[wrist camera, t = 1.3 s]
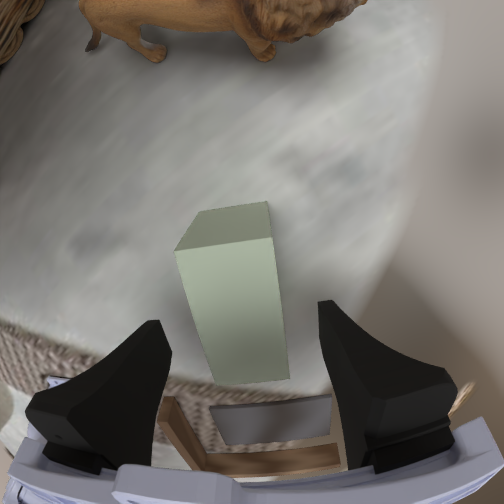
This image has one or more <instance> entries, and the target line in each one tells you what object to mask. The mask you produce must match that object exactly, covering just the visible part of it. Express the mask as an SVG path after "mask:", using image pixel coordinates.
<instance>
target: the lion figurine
mask: <svg viewBox="0 0 504 504" xmlns="http://www.w3.org/2000/svg"><path fill="white" fill-rule="evenodd" d="M366 2H367V0H79V9H80V11H81V12H82V14H83V15H84V16H85V18H86V19H87V20H88V22H89V23H90V25H91V27H92V29H93V36H92V39H91V40H90V41H89V43H88V45H87V48H86V49H85V52H88V51H91V50H94V49H95V48H96V47H97V46H98V44H99V42H100V39H101V32H103V33H105V34H107V35H109V36H112V37H114V38H117V39H120V40H123V41H125V42H126V43H127V45H128V46H129V47H131V48H132V49H134V50H136V51H138V52H140V53H141V54H143V55H144V56H145V57H146V58H147V59H149V60H150V61H152V62H156V63H159V62H161V61H162V60H164V59H165V57H166V53H167V49H166V47H165V46H163V45H161V44H152V43H148V42H146V41H144V40H142V39H141V30H140V25H142V24H151V25H156V26H160V27H164V28H169V29H173V30H178V31H186V32H217V31H230V30H233V31H235V32H236V33H237V34H238V35H239V36H240V37H241V38H242V39H244V40H245V42H246V43H247V45H248V47H249V50H250V51H251V53H252V54H253V55H254V56H255V57H256V58H257V59H258V60H260V61H263V62H267V61H269V60H271V59H273V57H274V56H275V54H276V51H275V45H273V44H270V43H271V41H284V42H288V43H293V42H295V41H298V40H299V39H301V38H302V37H303V36H309V37H312V36H314V35H316V34H318V33H320V32H321V31H322V30H323V29H325V28H329V27H331V26H333V24H334V23H335V22H337V21H341V20H343V19H344V18H345V17H346V16H348V15H350V14H351V13H352V12H353V10H354V9H355V8H356V7H358V6H359V5H364V4H365V3H366Z"/></svg>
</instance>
